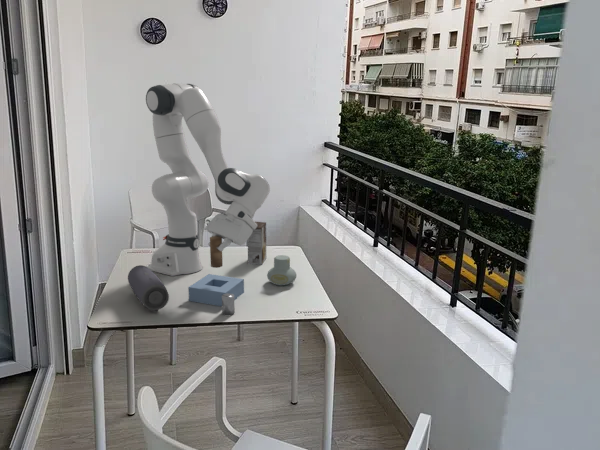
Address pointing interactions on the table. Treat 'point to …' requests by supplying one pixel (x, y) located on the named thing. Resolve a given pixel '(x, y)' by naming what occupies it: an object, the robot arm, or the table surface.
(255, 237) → the coffee box
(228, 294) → the short pin
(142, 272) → the bluetooth speaker
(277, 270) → the air freshener
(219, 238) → the long pin
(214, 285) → the collar block
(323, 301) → the table surface
